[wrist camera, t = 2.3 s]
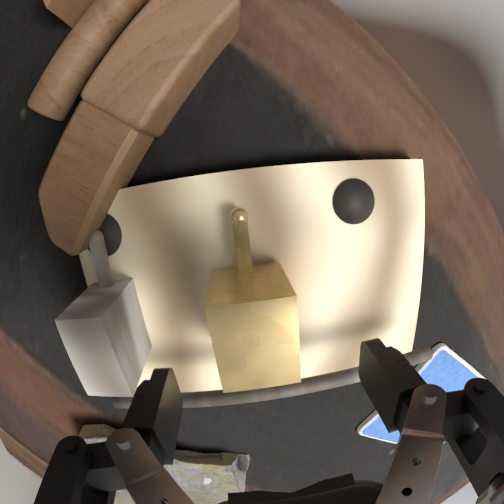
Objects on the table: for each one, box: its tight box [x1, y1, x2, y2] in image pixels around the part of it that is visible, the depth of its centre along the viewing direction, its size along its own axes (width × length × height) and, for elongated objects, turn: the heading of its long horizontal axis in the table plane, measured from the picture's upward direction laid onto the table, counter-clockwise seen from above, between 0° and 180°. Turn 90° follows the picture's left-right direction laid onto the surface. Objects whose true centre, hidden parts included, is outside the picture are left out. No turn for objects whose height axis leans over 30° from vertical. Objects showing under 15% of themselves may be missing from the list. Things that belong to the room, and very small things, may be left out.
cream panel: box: [55, 159, 433, 408], centre depth 17 cm, size 23×16×7 cm
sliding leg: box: [205, 207, 301, 393], centre depth 15 cm, size 4×8×5 cm, turn 7°
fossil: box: [78, 424, 249, 504], centre depth 25 cm, size 20×5×17 cm
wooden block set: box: [27, 0, 241, 256], centre depth 13 cm, size 17×6×18 cm
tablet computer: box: [357, 343, 486, 444], centre depth 26 cm, size 19×13×1 cm, turn 55°
